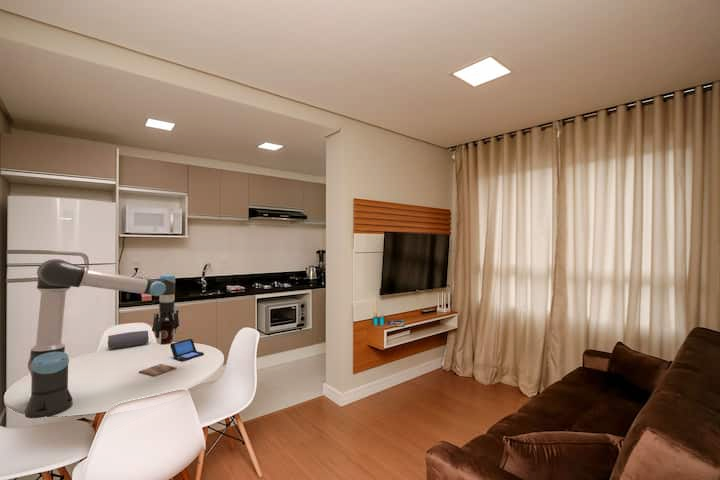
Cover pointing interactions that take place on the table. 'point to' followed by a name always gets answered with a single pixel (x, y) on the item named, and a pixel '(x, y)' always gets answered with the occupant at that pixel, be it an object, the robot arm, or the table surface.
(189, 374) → the table surface
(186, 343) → the handheld game console
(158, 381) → the table surface
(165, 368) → the walnut board
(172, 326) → the coffee cup
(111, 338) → the bluetooth speaker
